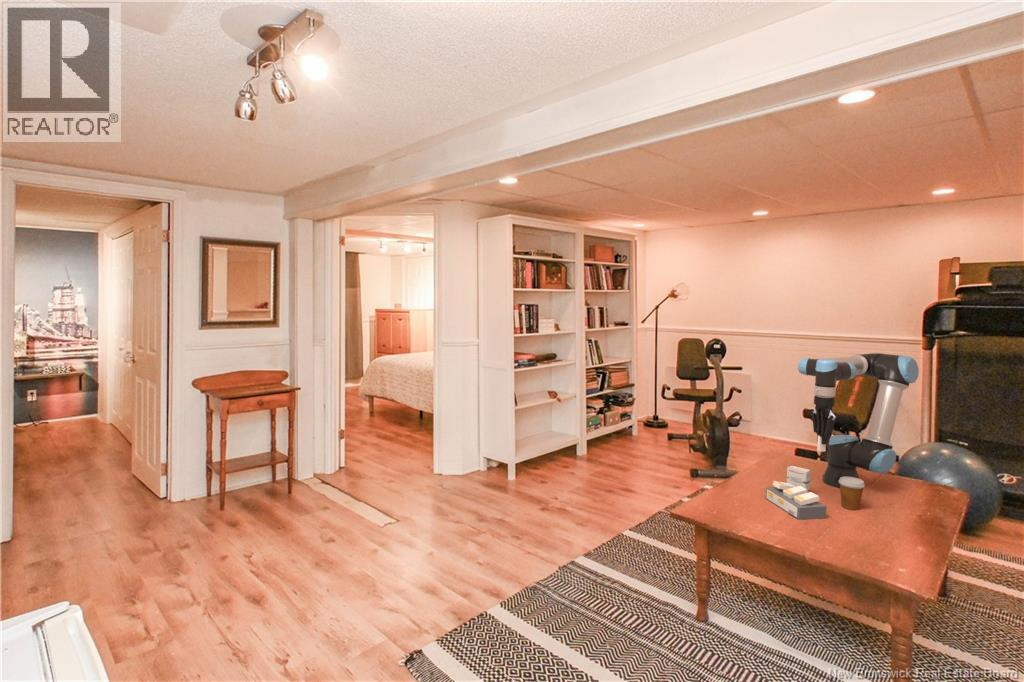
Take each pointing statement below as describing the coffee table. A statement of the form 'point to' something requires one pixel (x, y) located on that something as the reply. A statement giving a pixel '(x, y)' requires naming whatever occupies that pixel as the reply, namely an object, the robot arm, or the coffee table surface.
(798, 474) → the ink box
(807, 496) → the block
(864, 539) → the coffee table surface
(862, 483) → the disposable coffee cup
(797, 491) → the rocker
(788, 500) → the switch unit
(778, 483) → the rocker
